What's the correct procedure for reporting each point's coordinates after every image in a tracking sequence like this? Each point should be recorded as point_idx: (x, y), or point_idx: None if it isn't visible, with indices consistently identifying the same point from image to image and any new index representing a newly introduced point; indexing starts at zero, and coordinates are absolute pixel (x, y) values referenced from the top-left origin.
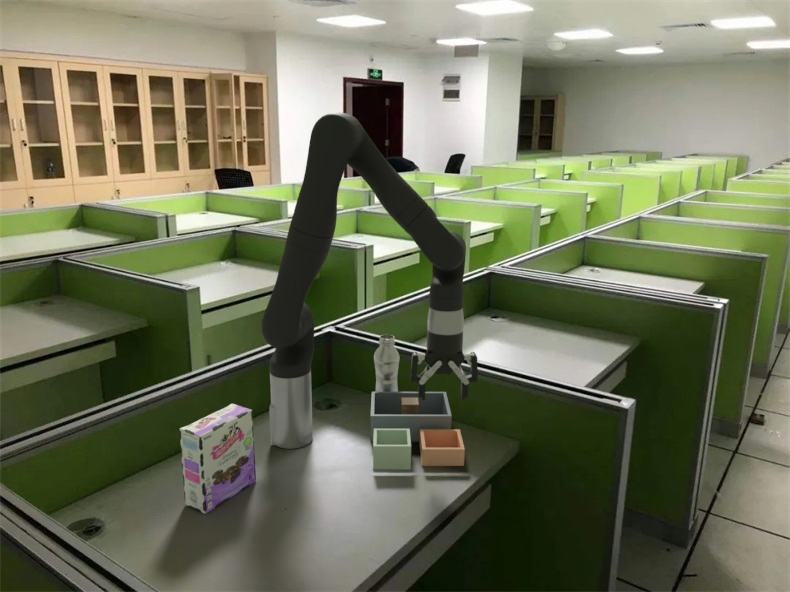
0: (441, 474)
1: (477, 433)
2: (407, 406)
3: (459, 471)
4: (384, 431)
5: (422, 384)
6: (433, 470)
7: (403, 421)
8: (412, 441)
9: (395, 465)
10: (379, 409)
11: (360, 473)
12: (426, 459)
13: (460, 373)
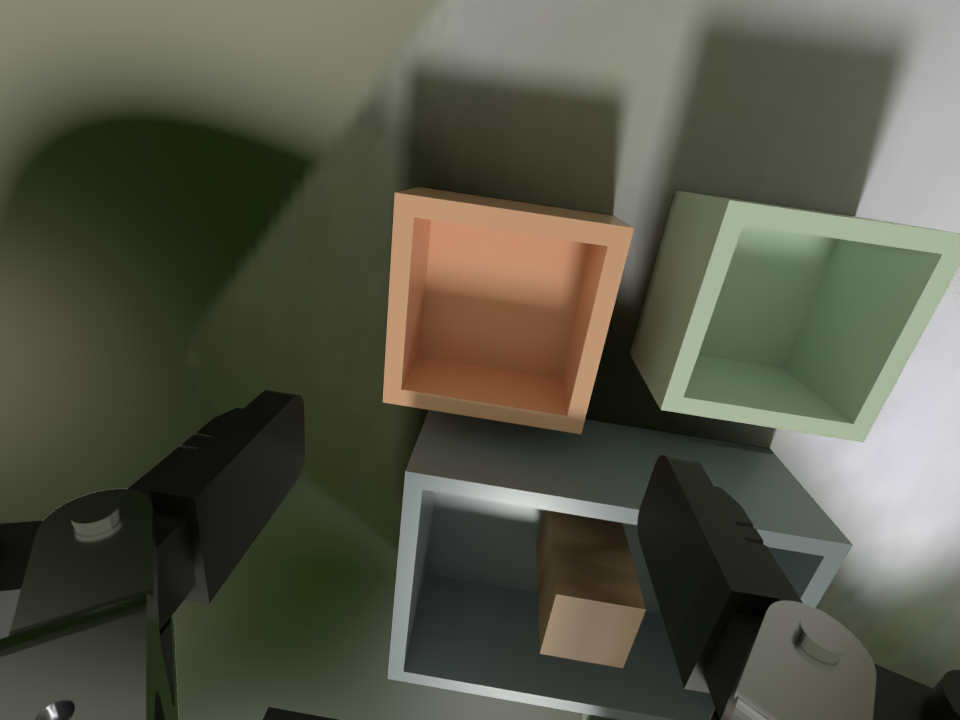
0: (536, 145)
1: (312, 451)
2: (614, 595)
3: (445, 161)
4: (804, 412)
5: (786, 602)
6: (563, 188)
7: None
8: (594, 425)
9: (763, 203)
10: None
11: (922, 210)
12: (598, 217)
13: (27, 683)
